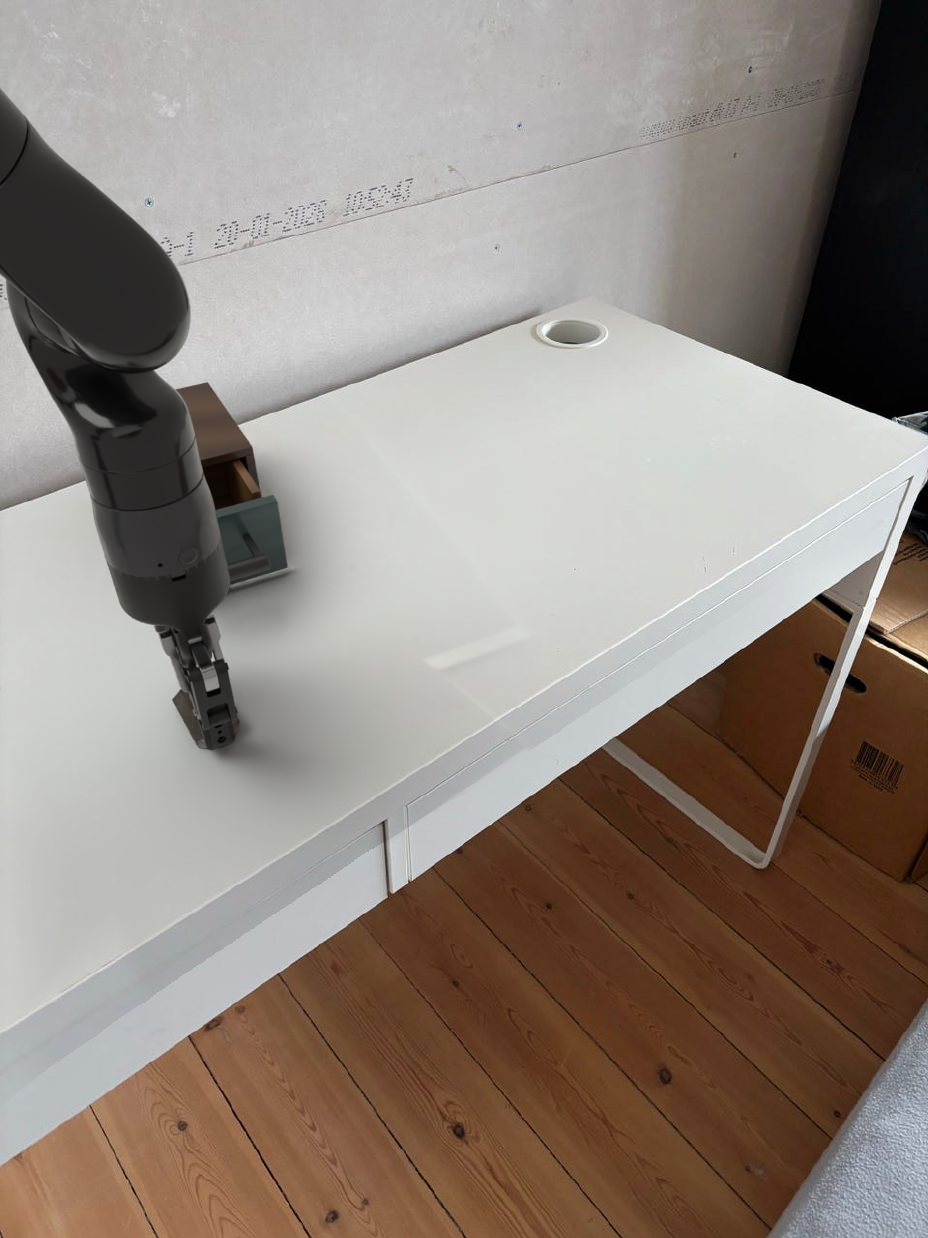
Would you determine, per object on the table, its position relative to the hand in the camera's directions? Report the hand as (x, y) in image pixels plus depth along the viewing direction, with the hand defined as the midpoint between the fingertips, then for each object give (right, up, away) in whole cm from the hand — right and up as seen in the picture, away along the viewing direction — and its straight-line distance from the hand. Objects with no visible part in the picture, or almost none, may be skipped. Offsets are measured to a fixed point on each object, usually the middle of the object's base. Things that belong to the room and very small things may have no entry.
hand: (208, 714), depth 75 cm
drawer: (-3, +13, +15) cm, 20 cm away
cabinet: (-8, +18, +23) cm, 31 cm away
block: (0, -1, 0) cm, 1 cm away
